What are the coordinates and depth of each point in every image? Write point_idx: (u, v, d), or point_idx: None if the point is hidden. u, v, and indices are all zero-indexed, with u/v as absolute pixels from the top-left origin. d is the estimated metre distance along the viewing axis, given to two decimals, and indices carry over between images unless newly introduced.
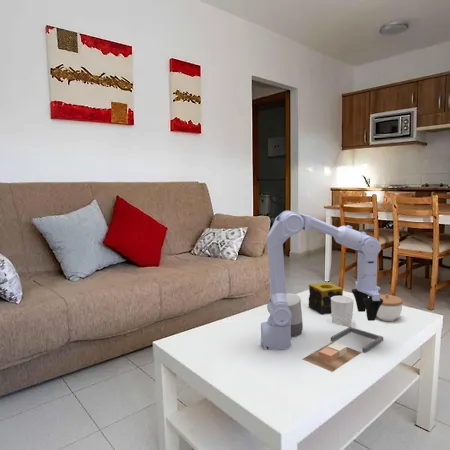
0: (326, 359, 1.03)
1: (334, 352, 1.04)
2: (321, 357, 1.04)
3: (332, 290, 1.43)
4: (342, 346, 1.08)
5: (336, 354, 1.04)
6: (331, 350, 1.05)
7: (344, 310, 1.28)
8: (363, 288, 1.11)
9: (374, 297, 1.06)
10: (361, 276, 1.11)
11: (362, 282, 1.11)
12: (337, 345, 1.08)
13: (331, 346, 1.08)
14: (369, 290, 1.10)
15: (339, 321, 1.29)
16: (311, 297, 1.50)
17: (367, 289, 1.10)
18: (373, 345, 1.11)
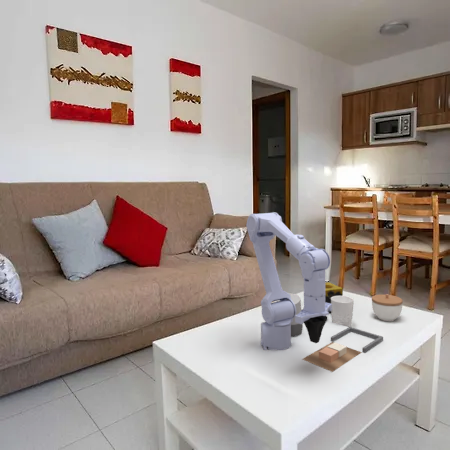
0: (326, 359, 1.03)
1: (334, 352, 1.04)
2: (321, 357, 1.04)
3: (332, 290, 1.43)
4: (342, 346, 1.08)
5: (336, 354, 1.04)
6: (331, 350, 1.05)
7: (344, 310, 1.28)
8: (304, 308, 0.99)
9: (296, 319, 0.94)
10: None
11: None
12: (337, 345, 1.08)
13: (331, 346, 1.08)
14: (306, 312, 0.97)
15: (339, 321, 1.29)
16: None
17: (305, 310, 0.97)
18: (373, 345, 1.11)
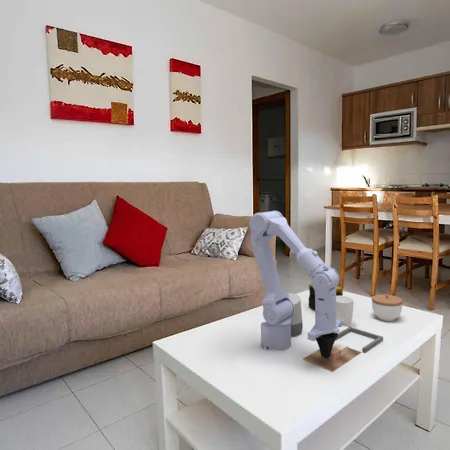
0: (329, 357, 1.04)
1: (337, 351, 1.05)
2: None
3: None
4: (344, 345, 1.08)
5: (339, 352, 1.05)
6: (334, 349, 1.06)
7: (344, 310, 1.28)
8: (315, 325, 1.03)
9: (308, 336, 0.99)
10: (315, 312, 1.03)
11: (315, 318, 1.03)
12: (339, 345, 1.09)
13: (333, 345, 1.08)
14: (318, 329, 1.01)
15: None
16: (311, 297, 1.50)
17: (317, 327, 1.02)
18: (373, 345, 1.11)
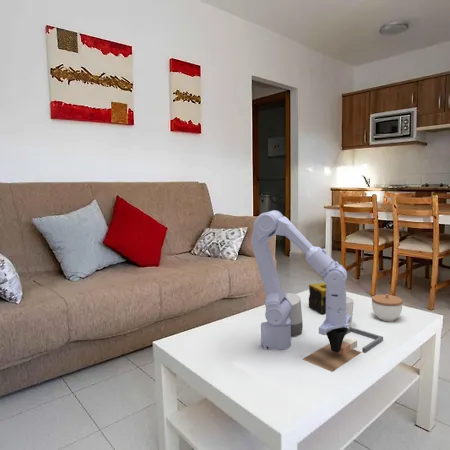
0: None
1: (346, 345, 1.08)
2: None
3: None
4: (353, 340, 1.12)
5: (348, 347, 1.08)
6: (343, 343, 1.10)
7: None
8: (326, 320, 1.06)
9: (319, 330, 1.02)
10: None
11: None
12: (348, 339, 1.12)
13: None
14: (328, 323, 1.05)
15: None
16: (311, 297, 1.50)
17: (327, 322, 1.05)
18: (373, 345, 1.11)
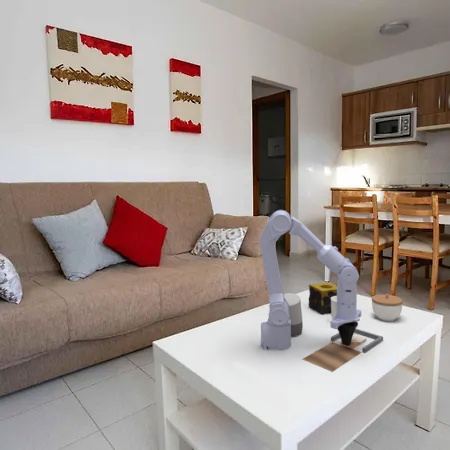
0: None
1: (356, 341, 1.12)
2: None
3: (332, 290, 1.43)
4: (362, 338, 1.16)
5: (358, 344, 1.12)
6: (353, 340, 1.14)
7: None
8: (337, 314, 1.10)
9: (331, 324, 1.06)
10: None
11: None
12: (357, 337, 1.16)
13: (352, 338, 1.16)
14: (339, 318, 1.09)
15: None
16: (311, 297, 1.50)
17: (338, 316, 1.09)
18: (373, 345, 1.11)
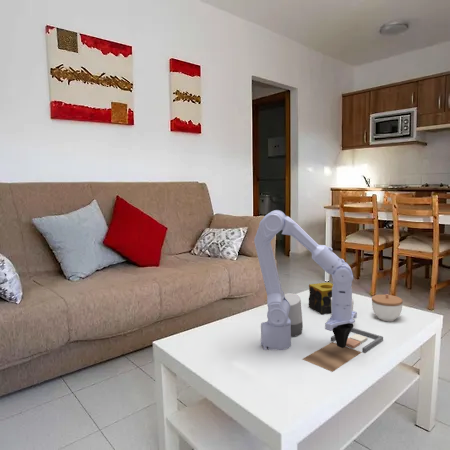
0: None
1: (356, 342, 1.13)
2: None
3: None
4: (363, 337, 1.16)
5: (358, 344, 1.12)
6: (353, 341, 1.14)
7: None
8: (332, 316, 1.08)
9: (326, 326, 1.04)
10: None
11: None
12: (358, 336, 1.17)
13: (353, 337, 1.16)
14: (334, 319, 1.07)
15: None
16: (311, 297, 1.50)
17: (333, 318, 1.07)
18: (373, 345, 1.11)
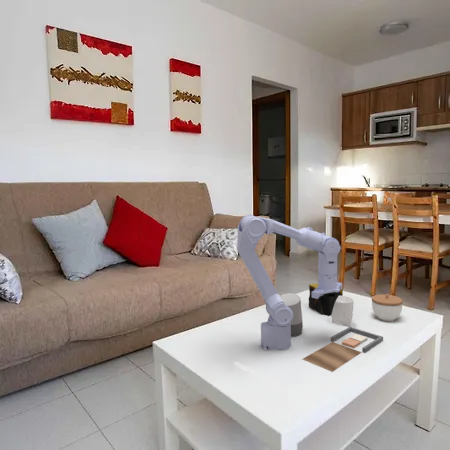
0: None
1: (356, 342, 1.13)
2: None
3: None
4: (363, 337, 1.16)
5: (358, 344, 1.12)
6: (353, 341, 1.14)
7: (344, 310, 1.28)
8: (318, 286, 1.15)
9: (312, 294, 1.11)
10: (318, 274, 1.15)
11: (318, 280, 1.15)
12: (358, 336, 1.17)
13: (353, 337, 1.16)
14: (321, 289, 1.13)
15: (339, 321, 1.29)
16: (311, 297, 1.50)
17: (320, 287, 1.14)
18: (373, 345, 1.11)
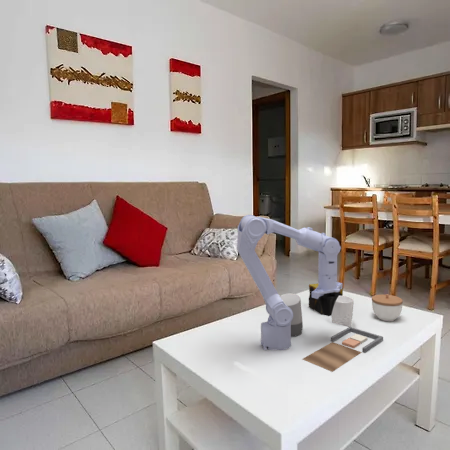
0: None
1: (356, 342, 1.13)
2: None
3: None
4: (363, 337, 1.16)
5: (358, 344, 1.12)
6: (353, 341, 1.14)
7: (344, 310, 1.28)
8: (318, 286, 1.15)
9: (312, 294, 1.11)
10: (318, 274, 1.15)
11: (318, 280, 1.15)
12: (358, 336, 1.17)
13: (353, 337, 1.16)
14: (321, 289, 1.13)
15: (339, 321, 1.29)
16: (311, 297, 1.50)
17: (320, 287, 1.14)
18: (373, 345, 1.11)
